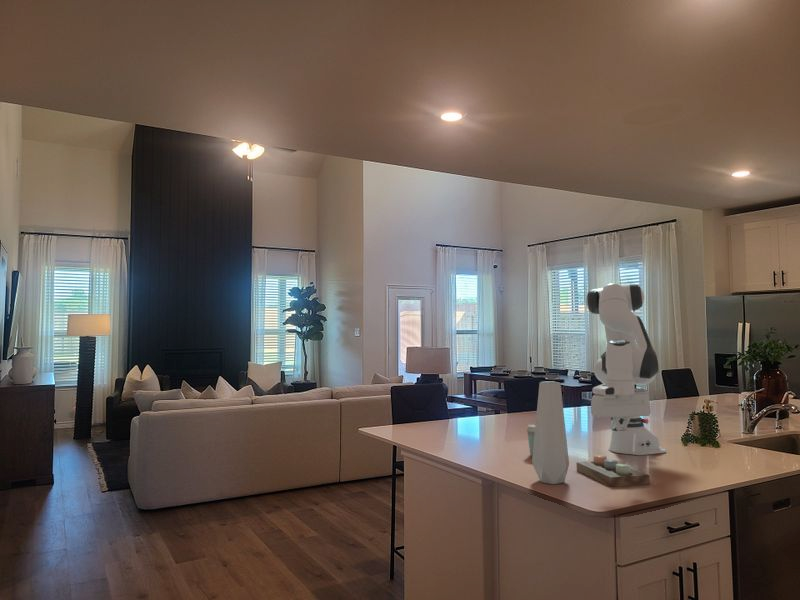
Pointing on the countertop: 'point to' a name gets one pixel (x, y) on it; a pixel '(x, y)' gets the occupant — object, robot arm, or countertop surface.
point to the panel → (612, 475)
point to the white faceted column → (550, 435)
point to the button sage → (622, 469)
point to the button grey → (610, 464)
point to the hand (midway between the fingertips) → (621, 430)
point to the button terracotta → (599, 459)
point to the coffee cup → (531, 437)
